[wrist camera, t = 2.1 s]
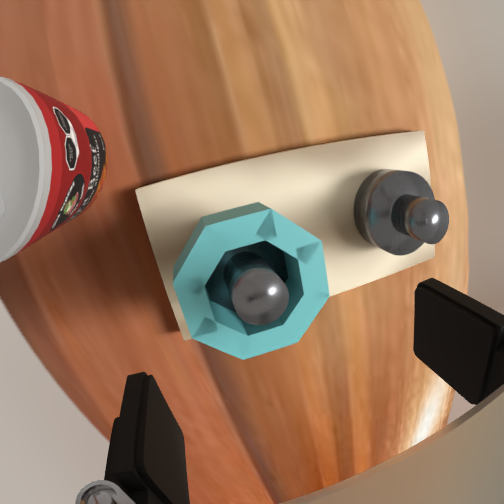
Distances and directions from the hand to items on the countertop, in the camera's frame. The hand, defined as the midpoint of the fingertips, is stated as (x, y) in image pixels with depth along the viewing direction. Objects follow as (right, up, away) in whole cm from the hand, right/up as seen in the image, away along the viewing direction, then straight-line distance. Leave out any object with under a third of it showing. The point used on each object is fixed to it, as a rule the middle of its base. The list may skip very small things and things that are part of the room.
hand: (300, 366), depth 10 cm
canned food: (-15, +10, +9) cm, 20 cm away
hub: (+9, +7, +13) cm, 17 cm away
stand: (-3, +4, +11) cm, 12 cm away
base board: (+3, +6, +14) cm, 15 cm away
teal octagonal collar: (-2, +3, +7) cm, 8 cm away
